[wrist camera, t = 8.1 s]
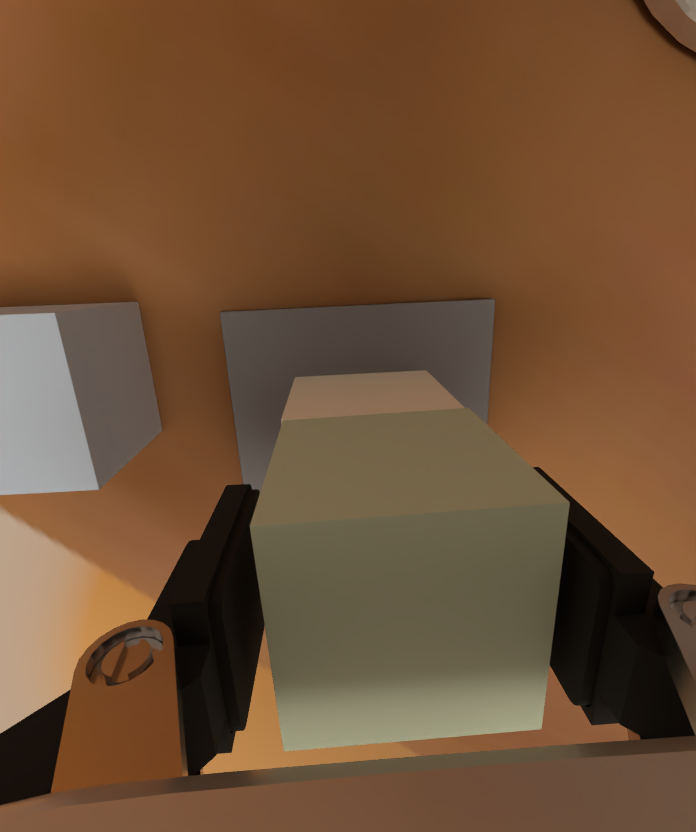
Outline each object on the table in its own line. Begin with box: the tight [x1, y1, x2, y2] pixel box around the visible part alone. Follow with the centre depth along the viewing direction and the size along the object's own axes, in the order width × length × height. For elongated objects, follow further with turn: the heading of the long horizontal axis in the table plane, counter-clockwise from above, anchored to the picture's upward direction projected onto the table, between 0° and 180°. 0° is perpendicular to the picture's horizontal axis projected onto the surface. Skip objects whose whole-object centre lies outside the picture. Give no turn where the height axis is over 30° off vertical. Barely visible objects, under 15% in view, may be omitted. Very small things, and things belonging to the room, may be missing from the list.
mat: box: [220, 299, 495, 492], centre depth 17 cm, size 10×10×1 cm
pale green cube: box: [250, 408, 570, 751], centre depth 10 cm, size 5×5×5 cm
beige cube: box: [281, 370, 465, 425], centre depth 14 cm, size 5×5×5 cm
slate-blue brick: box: [0, 302, 162, 495], centre depth 14 cm, size 5×5×5 cm
